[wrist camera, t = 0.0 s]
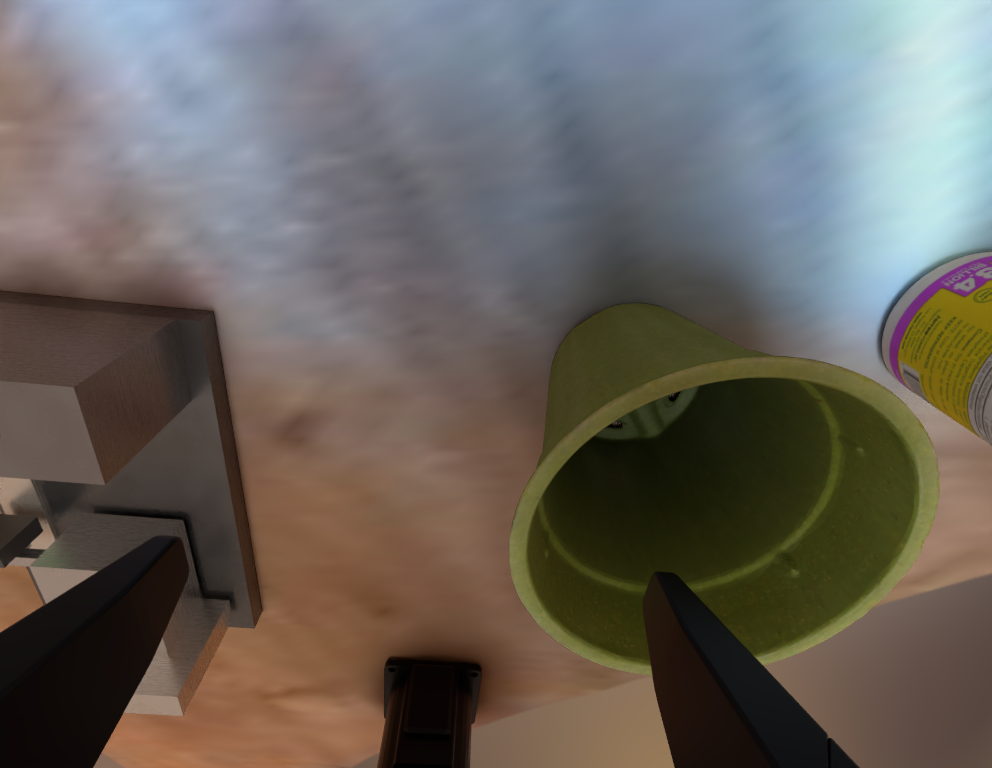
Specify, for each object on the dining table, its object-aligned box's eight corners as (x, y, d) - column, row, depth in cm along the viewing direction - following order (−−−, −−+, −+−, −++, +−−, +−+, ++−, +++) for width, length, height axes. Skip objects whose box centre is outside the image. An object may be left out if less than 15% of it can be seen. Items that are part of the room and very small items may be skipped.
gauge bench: (262, 611, 32) (205, 734, 26) (63, 598, 32) (-45, 721, 25) (213, 311, 23) (106, 389, 16) (-72, 283, 22) (-298, 355, 16)
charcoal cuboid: (43, 531, 27) (4, 567, 24) (2, 528, 26) (-40, 564, 24) (37, 516, 26) (-3, 552, 24) (-5, 513, 26) (-48, 549, 24)
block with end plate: (232, 618, 30) (183, 715, 25) (58, 607, 30) (-27, 704, 25) (213, 522, 27) (150, 614, 22) (14, 507, 26) (-95, 598, 21)
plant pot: (754, 446, 26) (911, 648, 17) (529, 488, 28) (550, 700, 18) (755, 215, 21) (991, 310, 11) (475, 280, 22) (461, 419, 12)
